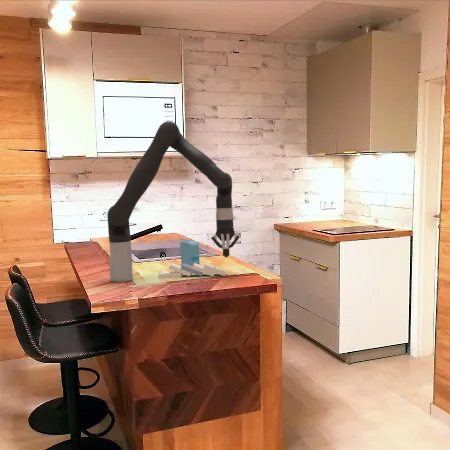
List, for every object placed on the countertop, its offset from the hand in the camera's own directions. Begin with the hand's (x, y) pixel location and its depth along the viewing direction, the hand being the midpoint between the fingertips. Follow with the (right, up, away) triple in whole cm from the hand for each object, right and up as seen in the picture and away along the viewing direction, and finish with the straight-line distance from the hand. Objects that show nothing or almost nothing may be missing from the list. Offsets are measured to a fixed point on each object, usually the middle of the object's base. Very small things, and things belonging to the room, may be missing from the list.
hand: (226, 257), depth 224 cm
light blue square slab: (-18, -6, +27) cm, 33 cm away
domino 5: (0, -7, +1) cm, 7 cm away
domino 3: (-10, -8, +1) cm, 13 cm away
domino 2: (-16, -8, +2) cm, 17 cm away
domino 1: (-20, -8, +2) cm, 21 cm away
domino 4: (-5, -7, +1) cm, 9 cm away
